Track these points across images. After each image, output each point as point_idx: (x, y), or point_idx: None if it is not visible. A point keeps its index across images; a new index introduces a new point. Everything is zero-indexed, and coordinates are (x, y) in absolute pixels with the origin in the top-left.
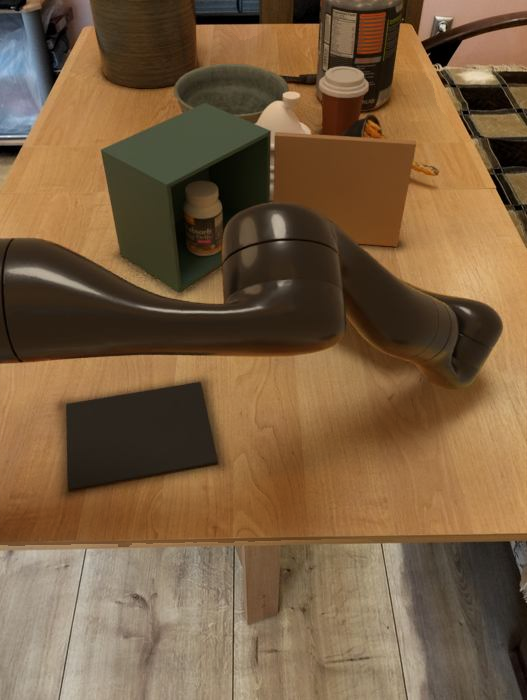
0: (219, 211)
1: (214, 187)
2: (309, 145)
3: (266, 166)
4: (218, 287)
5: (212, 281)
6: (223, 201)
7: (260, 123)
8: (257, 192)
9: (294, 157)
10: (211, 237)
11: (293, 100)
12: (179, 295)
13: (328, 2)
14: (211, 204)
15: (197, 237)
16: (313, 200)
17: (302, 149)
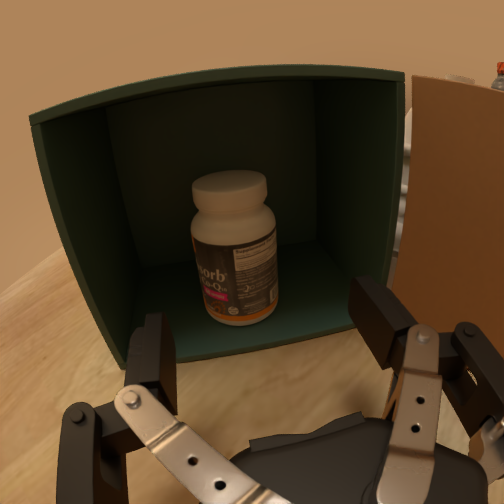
0: (251, 238)
1: (255, 181)
2: (500, 114)
3: (393, 162)
4: (184, 401)
5: (188, 381)
6: (328, 239)
7: (407, 116)
8: (372, 227)
9: (461, 143)
10: (227, 291)
11: (463, 79)
12: (115, 374)
13: (498, 89)
14: (232, 215)
15: (202, 281)
16: (488, 276)
17: (482, 122)
